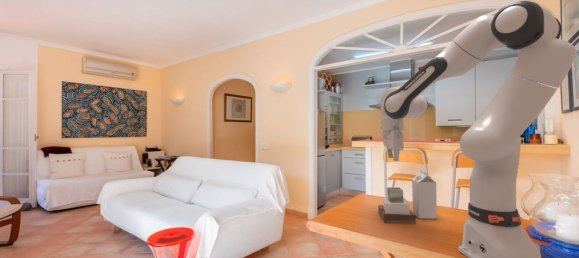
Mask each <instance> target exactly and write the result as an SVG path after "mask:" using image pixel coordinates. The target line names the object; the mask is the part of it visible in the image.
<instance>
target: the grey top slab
mask: <svg viewBox="0 0 579 258" xmlns="http://www.w3.org/2000/svg"><path fill="white" fill-rule="evenodd" d="M382 198H383V200H382V202H383V203H382V205H383V207H384V210H385V212H386V213H387V214H405V215H410V210H411V209H410V208H411V205H410V203H409V202H408V200H407V199H406V198H405V197H403V203H391V202H390V201H389V200H388V199H387V197H382Z"/></svg>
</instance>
